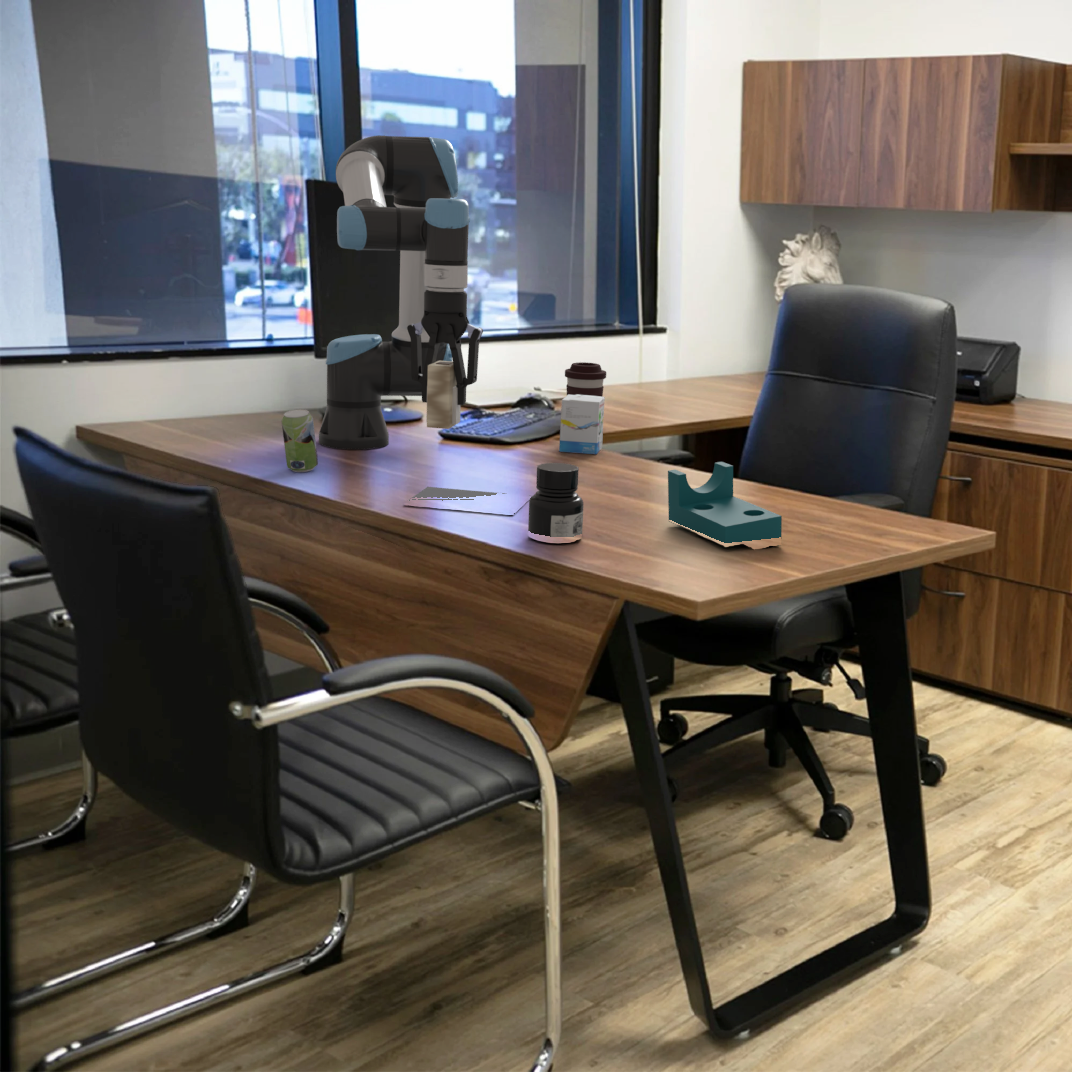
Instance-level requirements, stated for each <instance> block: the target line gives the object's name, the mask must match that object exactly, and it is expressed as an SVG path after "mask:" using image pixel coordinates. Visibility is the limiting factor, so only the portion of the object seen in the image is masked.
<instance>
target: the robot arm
mask: <svg viewBox="0 0 1072 1072" xmlns="http://www.w3.org/2000/svg"><path fill="white" fill-rule="evenodd" d="M458 175H459V174H458V167H457V159H456V154H455V150H454V147H453V145H452V143H451V142H450V141H449V140H448V139H445V138H438V137H431V136H402V135H401V136H399V135H397V136H396V135H394V136H393V135H372V136H368V137H365V138H362V139H360V140H357V141H356V142H354V143H352V144H351V145H349V146H348V147H347V148H346V149H345V150H344V151H343V152H342V153H341V154H340V156H339V158H338V160H337V162H336V167H335V179H336V183H337V185H338V188H339V189H340V190H341V191H342V193H343V200H344V205H342V206H339V208H338V209H337V212H336V215H337V216H336V233H337V234H336V236H337V239H336V240H337V245H338V246H339V247H340V248H342V249H346V250H347V249H348V250H355V251H400V253H399V255H400V256H399V259H400V260H399V264H400V265H399V304H398V305H399V308H398V309H399V310H398V326H397V328H395V329H394V330H393V331H392V333H391V341H383V339H382V337H381V335H380V334H376V333H373V334H372V333H371V334H368V333H366V334H355V335H353V334H352V335H348V336H347V335H346V336H342V337H339V338H335V339H333V340H330V342H329V343H328V345H326V360H325V365H326V409H325V412H324V416H323V418H322V421H321V425H320V428H319V431H318V444H319V445H321V446H324V447H326V448H332V449H339V450H371V449H378V448H384V447H385V446H386V447H387V446H388V445H389V443H390V441H389V439H390V437H389V435H390V434H389V431H388V426H387V424H386V420H385V417H384V414H383V411H382V396H385V397H387V396H389V397H393V396H395V397H421V402H422V403H426V404H427V381H428V365H430V364H432V363H435V362H437V361H453V365H454V371H455V377H456V382H457V385H456V386H455V387H453V400H452V424H456V425H458V424H459V423H461V409H462V408H461V407H462V406H464V405H465V404H466V403H467V386H469V385H472V384H475V383H476V382H477V379H478V368H479V367H478V365H479V353H480V352H479V349H480V341H481V337H482V335H483V334H484V330H483V328H482V327H476V326H475V325H472V324H471V323H470V321H469V319H468V315H467V314H468V311H467V310H468V293H467V291H465V289H466V288H468V281H469V279H468V272H469V271H468V270H469V269H468V266H469V265H468V262H469V261H468V259H469V258H468V250H469V229H470V228H469V226H470V221H471V220H470V219H471V218H470V215H469V214H470V213H469V212H470V210H469V202H468V201H467V200H466V199H461V198H456V197H458V195H459V178H458V177H459V176H458ZM385 196H393V205H394V206H395V207H393V206H387V203H386V198H385ZM466 331H467V337H468V339H469V341H468V349H467V350H468V352H467V353H468V354H467V370H466V369H465V363H464V357H463V350H462V341H461V338H462V336H464V334H465V333H466ZM457 423H458V424H457Z"/></svg>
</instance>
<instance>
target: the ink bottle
mask: <svg viewBox="0 0 1072 1072" xmlns="http://www.w3.org/2000/svg"><path fill="white" fill-rule="evenodd" d="M536 466H537V467H536V489H537V491H535V494H533V495H531V498H530V500H529V501H528V503H529V504H528V527H527V530H528V531H530V532H531V533H534V534H539V535H545V536H550V537H574V536H576V535H580V534H582V535H583V528H584V527H583V526H584V525H583V524H584V522H583V521H584V500H583V499H582V497H581V496H580V495H579V494H578V493H577V492H576V491H578V489H579V488H578V487H579V486H578V485H579V470H580V469H579V467H578V466H577V465H574V464H570V463H564V462H545V463H541V464H538V465H536ZM528 531H527V532H528Z"/></svg>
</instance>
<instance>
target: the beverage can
mask: <svg viewBox="0 0 1072 1072" xmlns="http://www.w3.org/2000/svg"><path fill="white" fill-rule="evenodd" d="M281 429H282V435H283V444H284V452H285V453H284V454H285V461H286V467H287V468H288V469H289V470H290V471H292V472H295V473H305V472H306V473H308V472H311V471H313V470H314V469H315V468H316V467H317V466H318V464H319V461H318V451H317V442H316V434H315V433H316V432H315V425H314V417H313V415H311V413H310V411H309V410H307V409H300V408H299V409H297V408H296V409H291V410H290V409H289V410H288V411H285V412H284V413H283V417H282V419H281Z"/></svg>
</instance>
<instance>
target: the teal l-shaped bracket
mask: <svg viewBox="0 0 1072 1072" xmlns="http://www.w3.org/2000/svg"><path fill="white" fill-rule="evenodd" d="M667 489H668V490H667V492H668V493H667V494H668V496H667V498H668V499H667V503H668V521H669V520H672V521H674V522H676V523H678V524H680V525H683V526H685V527H688V528H690V529H692V530H695V531H697V532H700V533H703V534H705V535H707V536H709V537H711V538H714V539H716V540H719V541H721V542H724V543H732V542H742V541H752V540H761V539H771V538H779V537H781V538H782V529H783V528H782V523H783V522H782V521H783V519H782V515H780V514H777V513H775V512H773V511H770V510H768V509H766V508H763V507H761V506H759V505H755V504H754V503H751V502H749V501H746V500H744V499H741V498H738V497H736V496H734V465H732V464H730V463H726V462H724V461H717V462H714V467H713V471H712V473H711V476H710V478H709V479H708V480H707V481H706V482H705V483H704V484H702V485H701V486H699V487H695V488H692V487H691V486H690V484H689V482H688V478H687V473H685V472H682V471H681V470H680V471H679V470H678V469H671V470H670V469H669V470H667Z"/></svg>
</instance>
